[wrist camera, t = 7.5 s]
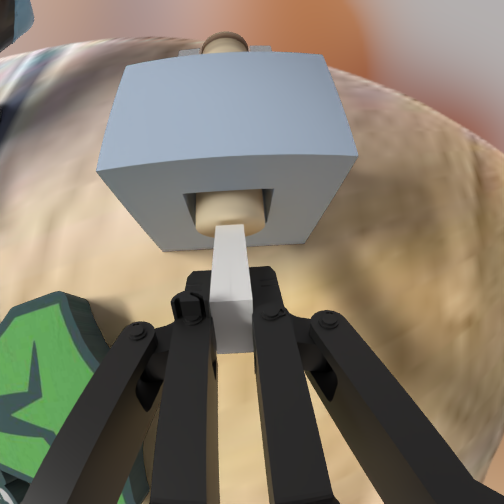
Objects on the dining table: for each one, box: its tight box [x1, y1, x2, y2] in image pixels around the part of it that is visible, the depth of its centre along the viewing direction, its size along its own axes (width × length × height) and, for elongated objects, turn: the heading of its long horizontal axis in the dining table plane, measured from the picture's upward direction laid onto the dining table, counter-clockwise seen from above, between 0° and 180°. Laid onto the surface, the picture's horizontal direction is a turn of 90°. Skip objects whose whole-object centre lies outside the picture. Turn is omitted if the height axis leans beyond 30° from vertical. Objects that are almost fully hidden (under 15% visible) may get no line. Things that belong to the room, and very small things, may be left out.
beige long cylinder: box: [196, 32, 265, 238], centre depth 19 cm, size 18×4×4 cm, turn 4°
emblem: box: [0, 291, 150, 504], centre depth 17 cm, size 30×4×30 cm
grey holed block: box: [96, 52, 358, 252], centre depth 19 cm, size 8×12×13 cm, turn 94°
